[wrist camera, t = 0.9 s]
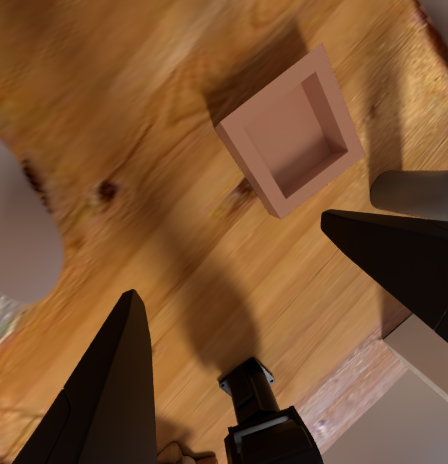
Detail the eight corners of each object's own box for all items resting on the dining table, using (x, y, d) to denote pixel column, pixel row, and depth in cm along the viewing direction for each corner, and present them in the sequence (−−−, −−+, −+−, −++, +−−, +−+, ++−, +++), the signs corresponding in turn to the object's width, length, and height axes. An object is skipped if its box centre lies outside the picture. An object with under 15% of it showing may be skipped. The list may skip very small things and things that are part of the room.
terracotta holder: (343, 157, 24) (365, 155, 21) (269, 214, 24) (281, 219, 21) (302, 60, 20) (322, 42, 17) (214, 128, 20) (219, 121, 17)
